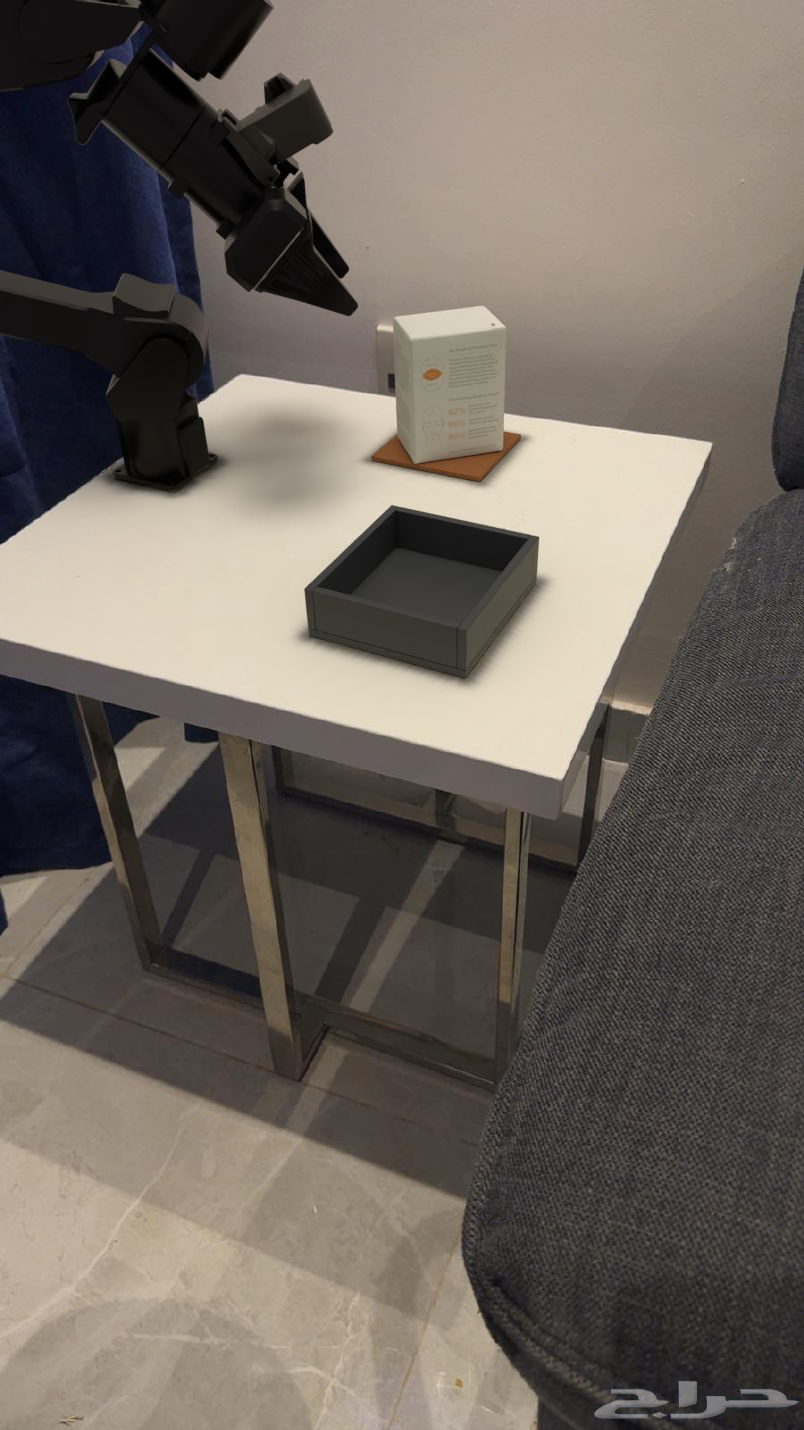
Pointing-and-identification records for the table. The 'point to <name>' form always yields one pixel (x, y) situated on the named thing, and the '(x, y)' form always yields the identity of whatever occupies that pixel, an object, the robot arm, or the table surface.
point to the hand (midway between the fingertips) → (349, 291)
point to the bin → (423, 589)
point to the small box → (449, 383)
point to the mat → (457, 467)
